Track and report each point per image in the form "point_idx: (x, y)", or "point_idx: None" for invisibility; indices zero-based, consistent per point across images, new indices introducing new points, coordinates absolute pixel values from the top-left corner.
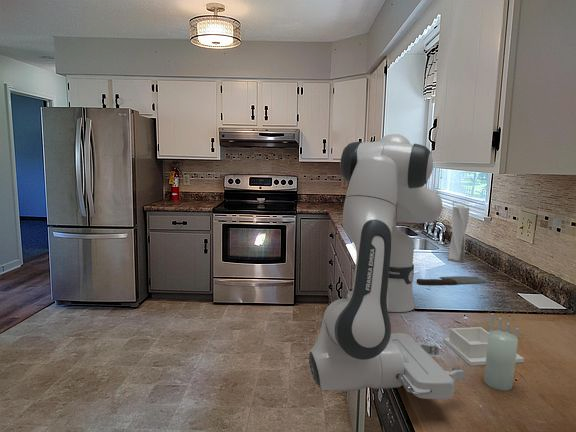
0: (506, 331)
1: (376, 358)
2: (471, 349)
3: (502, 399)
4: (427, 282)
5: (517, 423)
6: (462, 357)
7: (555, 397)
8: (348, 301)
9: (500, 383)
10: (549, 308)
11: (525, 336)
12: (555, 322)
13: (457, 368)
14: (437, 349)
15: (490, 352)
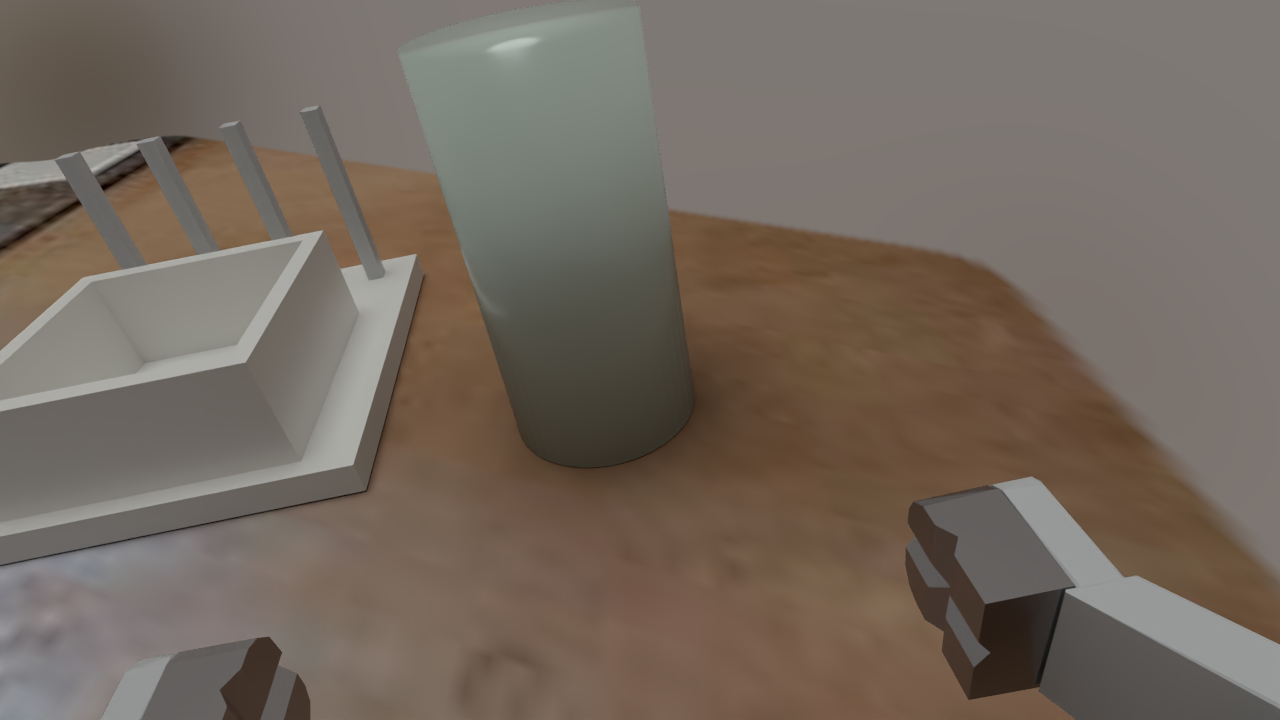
0: (252, 181)
1: None
2: (270, 393)
3: (805, 431)
4: None
5: (1097, 431)
6: (247, 506)
7: (733, 251)
8: None
9: (682, 375)
10: (117, 160)
11: (230, 232)
12: (206, 164)
13: (979, 537)
14: (261, 676)
15: (564, 214)
